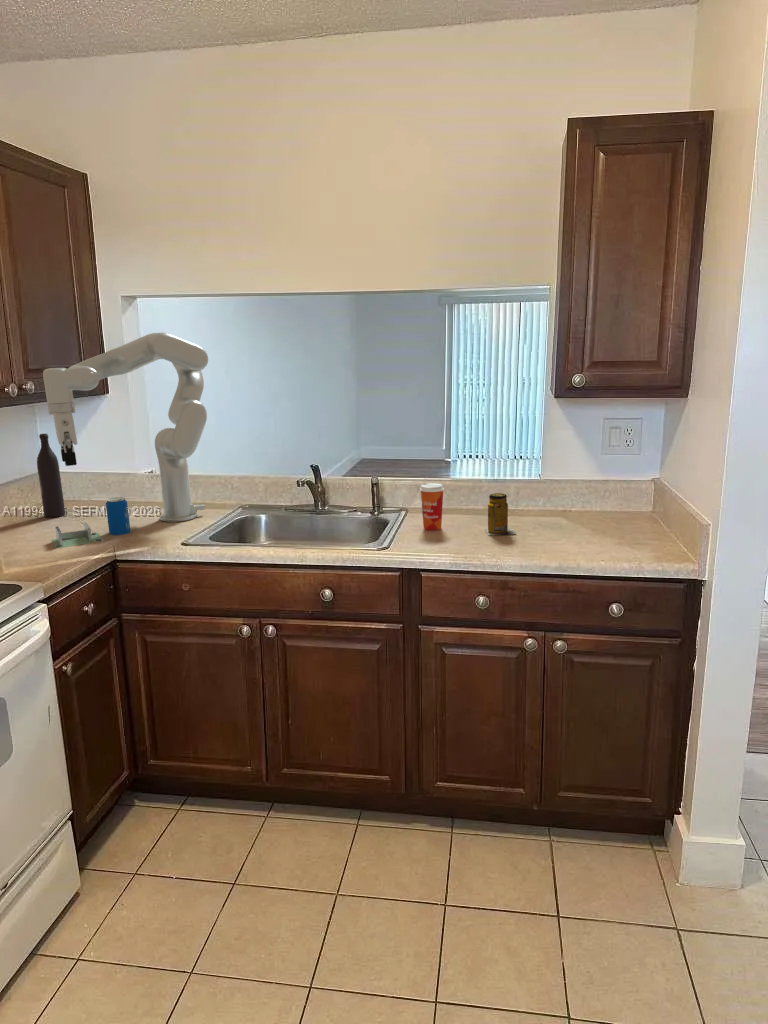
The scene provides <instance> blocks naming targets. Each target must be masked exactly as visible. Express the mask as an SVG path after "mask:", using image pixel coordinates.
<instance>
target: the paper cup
mask: <svg viewBox="0 0 768 1024" xmlns="http://www.w3.org/2000/svg"><path fill="white" fill-rule="evenodd" d="M419 490H420V498H421V511H422V513H421V514H422V524H423V529H424V530H426V531H439V530H441V529H442V523H443V522H442V521H443V502H444V501H443V499H444V490H445V488H444V486H443V484H442V483H437V482H435V483H434V482H433V483H430V482H429V483H424V484H421V485H420V488H419Z"/></svg>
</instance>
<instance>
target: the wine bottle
mask: <svg viewBox="0 0 768 1024" xmlns="http://www.w3.org/2000/svg"><path fill="white" fill-rule="evenodd" d="M38 437H39V440H40V450H39V452H38V455H37V457H36V468H37V474H38V480H39V481H38V483H39V488H40V494H41V502H42V509H43V515H44V517H45V518H48V519H53V518H60V517H63V516H65V515H66V507H65V501H64V493H63V487H62V480H61V479H62V478H61V473H60V464H59V460H58V456H56V454H55V452H54V451H53V449H52V448H51V446H50V442H49V434H48V433H39V435H38Z"/></svg>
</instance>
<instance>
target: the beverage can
mask: <svg viewBox="0 0 768 1024" xmlns="http://www.w3.org/2000/svg"><path fill="white" fill-rule="evenodd" d="M105 502H106V503H105V509H106V510H105V511H106V518H107V525H108V533H109V535H111V536H122V535H127V534H130V532H131V523H130V515H129V507H128V501H127V500H126V498H125V497H123V496H122V497H110V498H107V499H106V501H105Z"/></svg>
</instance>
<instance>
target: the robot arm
mask: <svg viewBox="0 0 768 1024" xmlns="http://www.w3.org/2000/svg"><path fill="white" fill-rule="evenodd" d="M158 360H165V361H168V362H170V363H172V366H173V368H174V369H175V370H176V373H177V375H178V376H177V377H178V381H177V387H176V390H175V392H174V395H173V398H172V401H171V403H170V405H169V408H168V412H167V415H168V419H169V421H170V422H171V423H172V424H174V425H175V427H174V428H172V427H166V428H163V429H161V430H160V431H158V432H157V434H156V435H155V439H154V448H155V453H156V457H157V461H158V467H159V477H160V484H161V485H160V486H161V488H160V489H161V495H162V505H163V514H161V515H160V516H159V521H162V522H167V523H168V522H169V523H171V522H172V523H173V522H174V523H176V522H178V523H179V522H185V521H189V520H193V519H195V518H198V511H204V510H206V507H207V506H206V504H205V503H204V504H194V503H193V502H192V496H191V485H190V477H189V476H190V474H189V466H188V462H187V458H190V457H191V456H192V455H194V453H195V451H196V450H197V448H198V445H199V443H200V439H201V437H202V435H203V432H204V429H205V426H206V422H207V417H208V414H207V409H206V407H205V406H204V404H203V403H202V402H200V401H201V398H202V395H203V393H204V387H205V386H204V384H205V383H204V376H203V373H202V370H204V369H206V367H207V366H208V362H209V356H208V353H207V351H206V350H205V349H204V348H203V347H201V346H199V345H198V344H195V343H193V342H190V341H187V340H185V339H182V338H180V337H177V336H175V335H173V334H170V333H167V332H152V333H149V334H146V335H143V336H142V337H141V336H140V337H138V338H137V339H133V340H131V341H129V342H127V343H125V344H123V345H119V346H118V347H115V348H112V349H110V350H107V351H106V352H103V353H101V354H98V355H96V356H92V357H89V358H88V359H85V360H82V361H80V362H78V363H76V364H74V365H71V366H69V367H68V368H66V367H50V368H46V369H44V370H43V372H42V377H43V383H44V390H45V396H46V397H45V398H46V403H47V410H48V415H50V416H51V415H52V416H53V420H54V422H53V423H54V427H55V432H56V433H55V434H56V437H57V438H56V439H57V441H58V444H59V445H60V453H61V460H62V462H64V464H65V466H66V467H70V466H77V464H78V463H77V456H76V452H75V449H74V448H75V447H74V445H75V446H77V445H78V440H77V432H76V427H75V421H74V417H73V414H75V413H76V409H75V408H76V407H75V399H74V393H73V391H85V392H86V391H91V390H92V391H93V389H95V388H96V387H98V385H99V383H100V381H101V380H103V379H106V378H109V377H114V376H120V375H125V374H129V373H132V372H133V371H136V370H138V369H141V368H142V367H144V366H146V365H149V364H151V363H154V362H155V361H158Z"/></svg>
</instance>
